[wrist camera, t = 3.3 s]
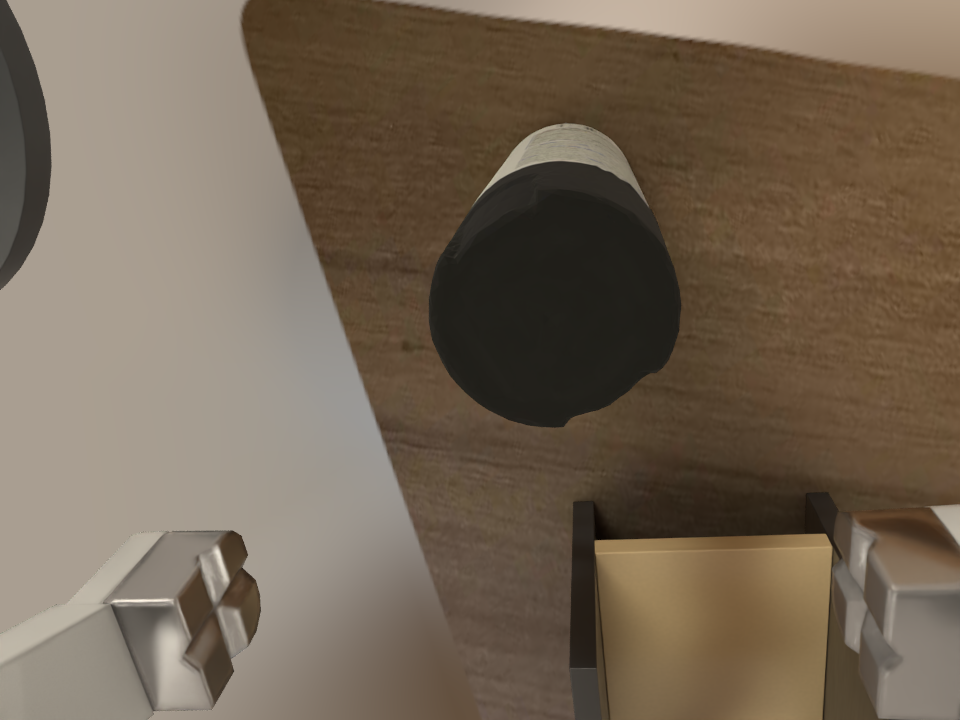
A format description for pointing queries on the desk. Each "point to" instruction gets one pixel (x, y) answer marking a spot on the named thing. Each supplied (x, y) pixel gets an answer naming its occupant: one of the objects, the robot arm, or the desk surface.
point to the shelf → (711, 626)
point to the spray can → (555, 283)
